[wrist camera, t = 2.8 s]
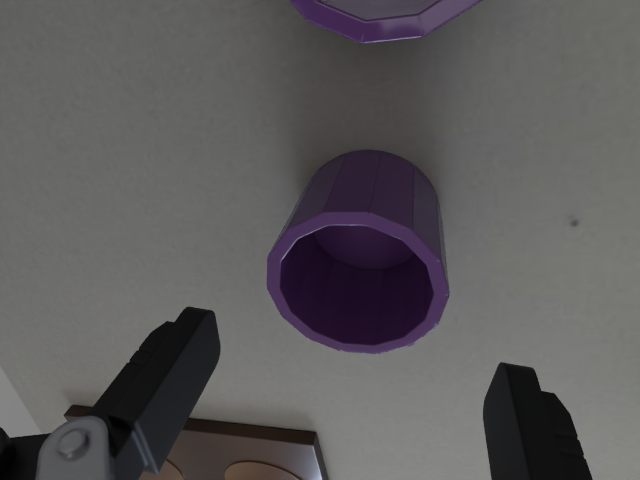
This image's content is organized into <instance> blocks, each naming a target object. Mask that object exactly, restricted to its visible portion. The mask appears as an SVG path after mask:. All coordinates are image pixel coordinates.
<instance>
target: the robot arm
mask: <svg viewBox="0 0 640 480" xmlns="http://www.w3.org/2000/svg"><path fill="white" fill-rule="evenodd" d="M219 356H220V340H219V334H218V329H217V323H216V317H215V313H214V312H213V311H211V310H206V309H200V308H194V307H186V308H185V309H184V310H183V311H182V313H181V314H180V315H179V317H178V318H177V319H176V321H175V322H169V321H167V322H165V323H164V324H162V325H161V326H159V327H158V328H157V329H155V330H154V331H152V332H151V333H150V334H149V336H148V337H147V338H146V339H145V341H144V342H143V343H142V345H141V346H140V347H139V350H138V351H136V352H135V354H134V355H133V356H132V357H131V359H130V362H129V363H127V364H126V365H125V366H124V368H123V369H122V370H121V372H120V373H119V374H118V375H117V377H116V378H115V379H114V381H113V382H112V383H111V384H110V386H109V387H108V388H107V390H106V391H105V392H104V394H103V395H102V396H101V397H100V399H99V400H98V401H97V403H96V404H95V405H94V406H93V408H92V409H91V410H90V411H89V412H88V413H87V414H86V415H85V416H81V417H78V418H74V419H72V420H69V421H68V422H66V423H64V424H62V425H61V426H59V427H58V428H57V429H56V430H54V431H53V432H52V433H49V434H41V435H32V436H23V437H15V438H9V436H8V435H7V434H6V432H5V431H4V430H3V429H2V428H1V427H0V480H139V478H140V476H141V474H142V473H143V471H145V472H149V473H153V474H157V475H158V473H159V472H160V470H161V468H162V466H163V464H164V462H165V460H166V459H167V457H168V455H169V453H170V451H171V449H172V447H173V446H174V444H175V442H176V440H177V438H178V436H179V434H180V432H181V431H182V429H183V427H184V425H185V423H186V421H187V419H188V418H189V416H190V414H191V412H192V410H193V408H194V406H195V405H196V403H197V401H198V399H199V397H200V395H201V393H202V392H203V390H204V388H205V386H206V384H207V382H208V380H209V378H210V377H211V375H212V373H213V371H214V369H215V367H216V365H217V363H218V360H219ZM483 421H484V428H485V435H486V442H487V450H488V457H489V464H490V471H491V478H492V480H593V479H592V476H591V474H590V471H589V468H588V465H587V462H586V459H584V457H583V455H584V453H583V450H582V447H581V444H580V442H579V440H577V433H576V430H575V427H574V424H573V421H572V418H571V415H570V413H569V412H568V411H567V409H566V408H565V407H564V405H563V404H562V403H561V401H560V400H559V399H558V397H557V396H556V395H555V394H554V393H549V392H544V391H541V389H540V385H539V382H538V378H537V375H536V372H535V370H534V369H533V368H531V367H525V366H520V365H514V364H508V363H502V362H501V363H500V364H499V365H498V367H497V370H496V372H495V375H494V377H493V379H492V382H491V384H490V387H489V389H488V392H487V394H486V397H485V400H484V407H483Z"/></svg>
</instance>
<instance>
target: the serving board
mask: <svg viewBox="0 0 640 480" xmlns="http://www.w3.org/2000/svg"><path fill="white" fill-rule="evenodd" d="M91 409H92V408H90V407H81V406H71V407H70V408H69V409H68V410H67V412H66V413H65V414H64V417H65V418H66V419H67V421H69V420H72V419H74V418H78V417H81V416H85V415H86V414H87V413H88V412H89V411H90V410H91ZM139 480H328V477H327V473H326V469H325V465H324V462H323V458H322V454H321V450H320V446H319V443H318V439H317V435H316V433H314V432H305V431H296V430H287V429H278V428H269V427H260V426H251V425H242V424H233V423H224V422H215V421H206V420H197V419H187V421H186V423H185V425H184V427H183V429H182V431H181V432H180V434H179V436H178V438H177V440H176V442H175V444H174V446H173V447H172V449H171V451H170V453H169V455H168V457H167V459H166V460H165V462H164V464H163V466H162V468H161V470H160V472H159V473H158V475H157V474H153V473H149V472H145V471H143V473H142V474H141V476H140V478H139Z"/></svg>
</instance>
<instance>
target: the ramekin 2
mask: <svg viewBox="0 0 640 480" xmlns="http://www.w3.org/2000/svg"><path fill="white" fill-rule="evenodd" d="M267 289H268V291H269V293H270V295H271V297H272V299H273V301H274V303H275V304H276V306H277V308H278V310H279V312H280V314H281V315H282V317H283V318H284V319H286V320H287V321H288V322H289V323H290V324H291V325H293V326H294V327H295V328H296V329H297V330H299V331H300V332H301V333H302V334H303V335H304V336H306V337H307V338H309V339H311V340H313V341H316V342H318V343H321V344H323V345H326V346H328V347H331V348H333V349H336V350H338V351H342V352H352V353H365V354H381V353H385V352H389V351H393V350H397V349H401V348H404V347H408V346H411V345H413V344H415V343H416V342H417V341H418V340H420V339H421V338H422V337H424V336H425V335H426V334H427V333H429V332H430V331H431V330H432V329H434V328H435V327H436V326H437V325H438V324H439V321H440V319H441V316H442V313H443V311H444V308H445V306H446V303H447V300H448V298H449V293H450V292H449V282H448V272H447V262H446V252H445V243H444V233H443V223H442V218H441V213H440V207H439V201H438V197H437V194H436V192H435V190H434V187H433V186H432V184H431V183H430V181H429V179H428V178H427V177H426V176H425V175H424V173H423V172H421V171H420V170H419V169H418V168H417V167H416V166H414V165H413V164H412V163H410V162H409V161H407V160H405V159H403V158H401V157H399V156H396V155H393V154H390V153H386V152H381V151H372V150H366V151H356V152H350V153H347V154H344V155H341V156H339V157H336V158H334V159H332V160H331V161H329V162H328V163H326V164H325V165H324V166H323V167H321V168H320V169H319V170H318V171H317V172H316V174H315V175H314V176H313V177H312V179H311V180H310V182H309V184H308V186H307V187H306V189H305V190H304V192H303V193H302V195H301V196H300V198H299V200H298V202H297V204H296V205H295V207H294V209H293V211H292V213H291V215H290V216H289V218H288V220H287V222H286V224H285V226H284V227H283V229H282V231H281V233H280V235H279V236H278V238H277V240H276V242H275V244H274V246H273V247H272V249H271V251H270V253H269V255H268V260H267Z"/></svg>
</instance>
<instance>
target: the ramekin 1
mask: <svg viewBox="0 0 640 480" xmlns="http://www.w3.org/2000/svg"><path fill="white" fill-rule="evenodd" d="M289 1H290V3H291V4H292V5H293V6H294V7H295V8H296V9H297V11H298V12H299V13H300V14H301V15H302V16H303V18H304V19H305V20H308V21H309V23H312V24H314V25H317V26H319V27H322V28H324V29H326V30H329V31H331V32H334V33H336V34H339V35H341V36H343V37H346V38H348V39H351V40H353V41H356V42H358V43H363V44H369V43H378V42H387V41H396V40H405V39H414V38H421V37H423V36H427V35H428V34H430V33H431V32H433V31H435V30H436V29H438V28H439V27H441V26H443V25H444V24H446V23H447V22H449V21H451V20H452V19H454V18H455V17H457V16H459V15H460V14H462V13H464V12H465V11H467V10H468V9H470V8H472V7H473V6H475V5H476V4H478V3H480V2H481V1H483V0H289Z"/></svg>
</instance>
